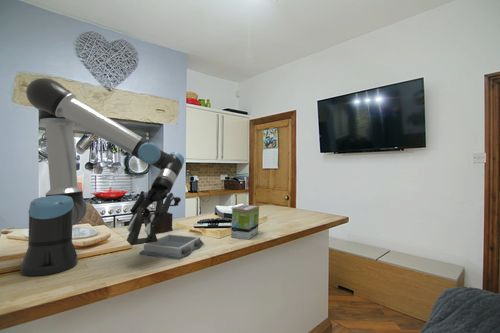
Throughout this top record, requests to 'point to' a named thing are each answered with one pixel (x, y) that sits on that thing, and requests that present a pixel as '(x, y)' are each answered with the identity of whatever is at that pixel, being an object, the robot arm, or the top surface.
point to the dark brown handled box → (165, 220)
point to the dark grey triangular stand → (137, 225)
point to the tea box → (245, 221)
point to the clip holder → (172, 246)
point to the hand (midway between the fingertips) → (138, 231)
